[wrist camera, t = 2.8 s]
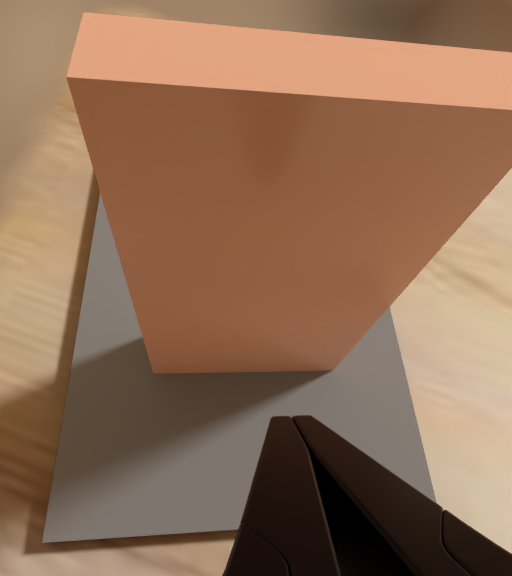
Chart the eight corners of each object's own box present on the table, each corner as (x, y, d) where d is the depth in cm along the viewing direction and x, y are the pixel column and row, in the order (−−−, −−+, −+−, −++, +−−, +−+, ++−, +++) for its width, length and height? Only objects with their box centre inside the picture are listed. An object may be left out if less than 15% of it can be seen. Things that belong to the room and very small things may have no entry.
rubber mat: (432, 516, 15) (439, 515, 14) (47, 542, 13) (41, 542, 13) (345, 143, 24) (348, 136, 24) (113, 129, 22) (111, 121, 22)
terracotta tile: (332, 370, 17) (559, 113, 6) (153, 373, 16) (66, 76, 5) (326, 329, 17) (515, 43, 7) (156, 329, 16) (86, 1, 6)
